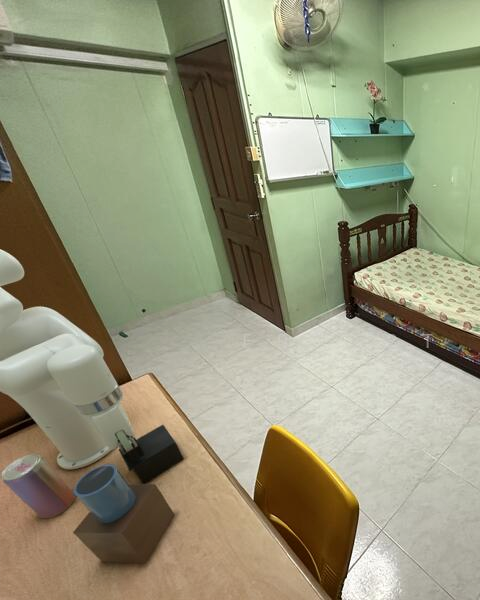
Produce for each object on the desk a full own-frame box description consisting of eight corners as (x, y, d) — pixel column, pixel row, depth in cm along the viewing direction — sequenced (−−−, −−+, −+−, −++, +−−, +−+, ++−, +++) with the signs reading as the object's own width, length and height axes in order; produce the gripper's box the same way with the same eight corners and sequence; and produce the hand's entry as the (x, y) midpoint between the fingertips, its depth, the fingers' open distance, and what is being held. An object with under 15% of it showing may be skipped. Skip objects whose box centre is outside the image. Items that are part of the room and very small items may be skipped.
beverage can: (53, 522, 69) (13, 483, 62) (32, 516, 70) (-9, 477, 63) (82, 495, 74) (49, 456, 67) (62, 489, 75) (27, 450, 68)
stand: (102, 562, 63) (72, 532, 57) (135, 513, 71) (112, 483, 65) (146, 563, 63) (121, 533, 57) (174, 514, 71) (155, 484, 65)
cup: (89, 516, 59) (65, 489, 55) (123, 486, 64) (103, 459, 60) (109, 528, 58) (86, 502, 53) (143, 497, 63) (124, 470, 58)
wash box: (143, 485, 76) (133, 469, 73) (133, 465, 81) (122, 449, 78) (184, 458, 83) (175, 443, 79) (172, 441, 87) (163, 425, 84)
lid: (130, 471, 73) (121, 459, 70) (119, 451, 77) (111, 439, 75) (175, 442, 79) (169, 431, 77) (163, 425, 84) (157, 414, 81)
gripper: (66, 389, 69) (103, 442, 78) (85, 431, 60) (124, 486, 68) (109, 371, 74) (139, 422, 83) (132, 407, 65) (163, 461, 74)
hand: (132, 451), depth 76 cm, fingers open, 5 cm apart
